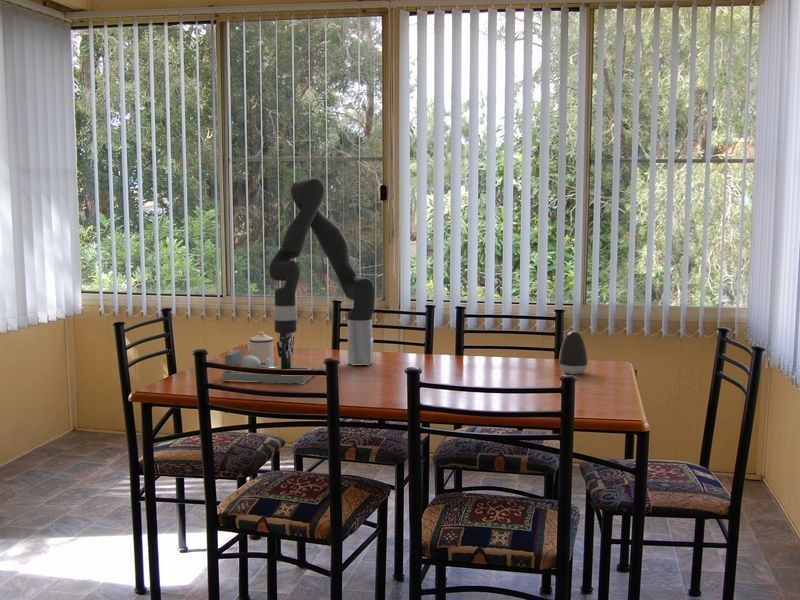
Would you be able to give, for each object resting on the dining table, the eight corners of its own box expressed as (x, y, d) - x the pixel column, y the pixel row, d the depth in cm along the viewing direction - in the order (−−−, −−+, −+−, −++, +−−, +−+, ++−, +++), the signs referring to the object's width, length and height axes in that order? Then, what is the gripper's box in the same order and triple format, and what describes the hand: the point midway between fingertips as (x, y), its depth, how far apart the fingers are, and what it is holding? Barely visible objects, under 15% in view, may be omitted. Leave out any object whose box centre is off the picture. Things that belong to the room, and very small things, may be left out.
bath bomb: (236, 380, 286) (236, 357, 285) (240, 376, 294) (240, 353, 293) (260, 380, 286) (259, 357, 285) (263, 375, 294) (263, 353, 293)
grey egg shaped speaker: (577, 369, 305) (578, 328, 303) (592, 374, 295) (594, 332, 294) (553, 371, 302) (553, 329, 300) (567, 376, 292) (568, 334, 290)
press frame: (314, 375, 294) (313, 350, 293) (303, 384, 280) (302, 358, 279) (238, 373, 298) (237, 348, 297) (223, 381, 284) (222, 355, 283)
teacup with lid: (277, 360, 324) (277, 330, 322) (267, 364, 315) (266, 334, 314) (250, 358, 328) (249, 329, 326) (238, 362, 319) (238, 332, 318)
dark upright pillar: (293, 376, 291) (292, 345, 290) (288, 380, 285) (287, 348, 283) (270, 375, 292) (270, 344, 291) (265, 379, 286) (264, 347, 285)
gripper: (290, 321, 278) (291, 371, 280) (301, 315, 292) (302, 364, 294) (268, 320, 279) (269, 371, 281) (280, 315, 293) (281, 363, 295)
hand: (286, 367), depth 288 cm, fingers closed on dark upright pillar, 3 cm apart
